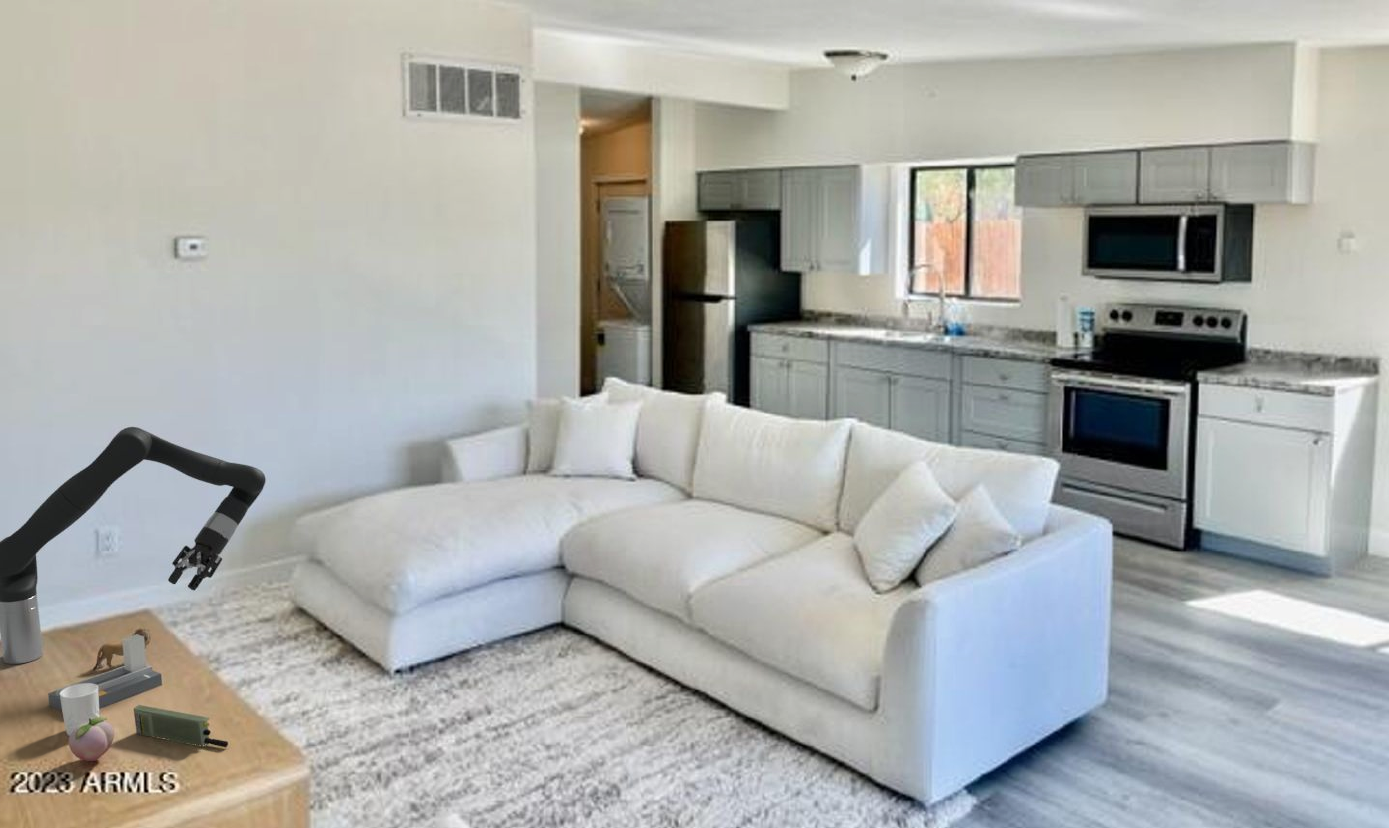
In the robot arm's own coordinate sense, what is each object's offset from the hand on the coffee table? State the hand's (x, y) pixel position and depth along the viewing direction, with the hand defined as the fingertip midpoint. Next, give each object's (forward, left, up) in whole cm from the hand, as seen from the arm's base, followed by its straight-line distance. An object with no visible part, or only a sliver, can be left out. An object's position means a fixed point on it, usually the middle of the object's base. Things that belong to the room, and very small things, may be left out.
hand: (180, 585), depth 297 cm
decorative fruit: (+30, -43, -22) cm, 57 cm away
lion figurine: (-14, -9, -22) cm, 28 cm away
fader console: (0, -22, -22) cm, 31 cm away
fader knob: (0, -14, -19) cm, 23 cm away
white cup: (+14, -36, -22) cm, 45 cm away
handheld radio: (+38, -26, -22) cm, 51 cm away
